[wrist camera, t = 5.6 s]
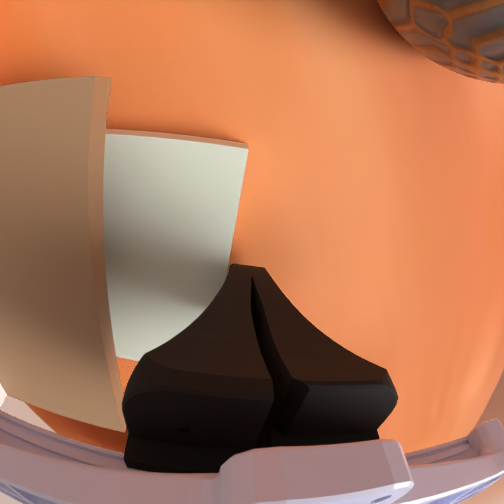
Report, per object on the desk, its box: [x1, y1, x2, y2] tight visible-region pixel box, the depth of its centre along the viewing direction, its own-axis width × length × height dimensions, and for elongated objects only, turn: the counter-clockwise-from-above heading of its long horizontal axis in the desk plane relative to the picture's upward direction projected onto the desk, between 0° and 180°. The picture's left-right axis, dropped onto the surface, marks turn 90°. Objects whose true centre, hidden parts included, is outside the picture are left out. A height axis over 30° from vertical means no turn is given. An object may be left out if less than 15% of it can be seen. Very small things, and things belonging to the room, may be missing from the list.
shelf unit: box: [0, 76, 126, 432], centre depth 9 cm, size 14×8×6 cm, turn 170°
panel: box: [103, 129, 249, 361], centre depth 12 cm, size 10×9×2 cm
